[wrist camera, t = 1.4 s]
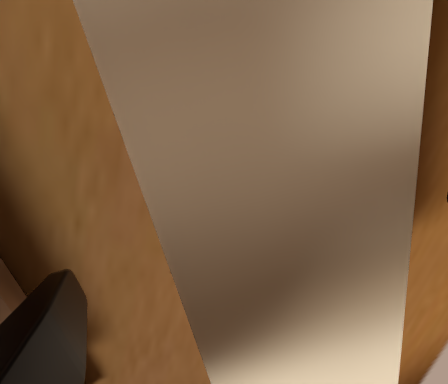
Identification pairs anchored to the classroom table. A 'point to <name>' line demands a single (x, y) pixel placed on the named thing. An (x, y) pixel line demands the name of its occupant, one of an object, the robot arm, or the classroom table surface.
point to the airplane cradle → (9, 293)
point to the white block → (276, 171)
